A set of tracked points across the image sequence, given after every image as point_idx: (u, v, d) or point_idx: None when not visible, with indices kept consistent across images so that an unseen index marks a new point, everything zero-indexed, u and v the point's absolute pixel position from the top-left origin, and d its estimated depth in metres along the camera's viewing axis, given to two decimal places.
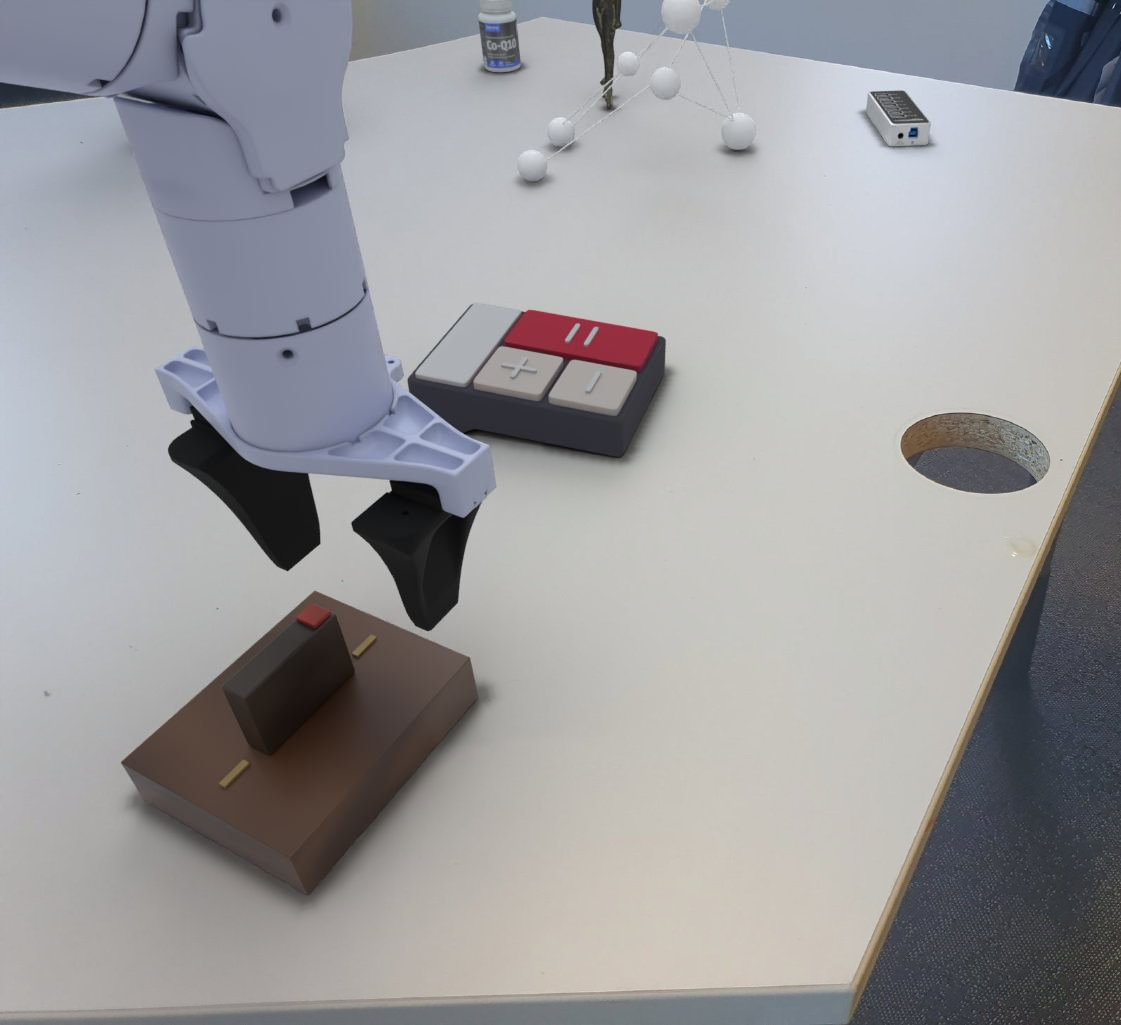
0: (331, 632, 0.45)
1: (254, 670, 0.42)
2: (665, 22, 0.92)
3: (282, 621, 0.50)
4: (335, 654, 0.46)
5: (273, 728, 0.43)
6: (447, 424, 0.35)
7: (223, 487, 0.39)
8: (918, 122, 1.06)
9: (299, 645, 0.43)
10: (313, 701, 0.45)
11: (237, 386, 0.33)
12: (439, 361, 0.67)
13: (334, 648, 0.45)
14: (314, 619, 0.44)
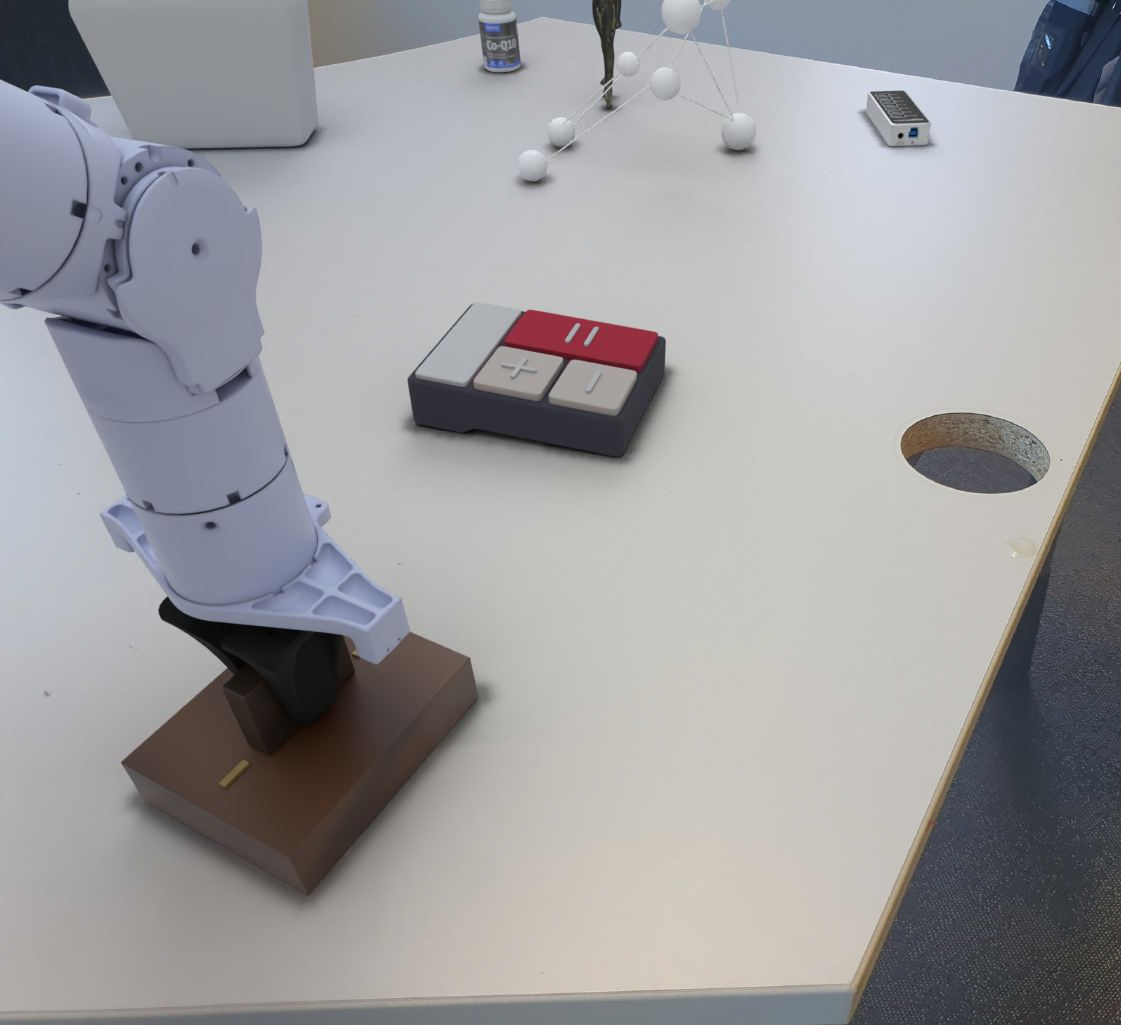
0: None
1: (254, 670, 0.42)
2: (665, 22, 0.92)
3: None
4: None
5: (273, 728, 0.43)
6: (364, 575, 0.39)
7: (211, 644, 0.41)
8: (918, 122, 1.06)
9: None
10: None
11: (166, 551, 0.36)
12: (439, 361, 0.67)
13: None
14: None
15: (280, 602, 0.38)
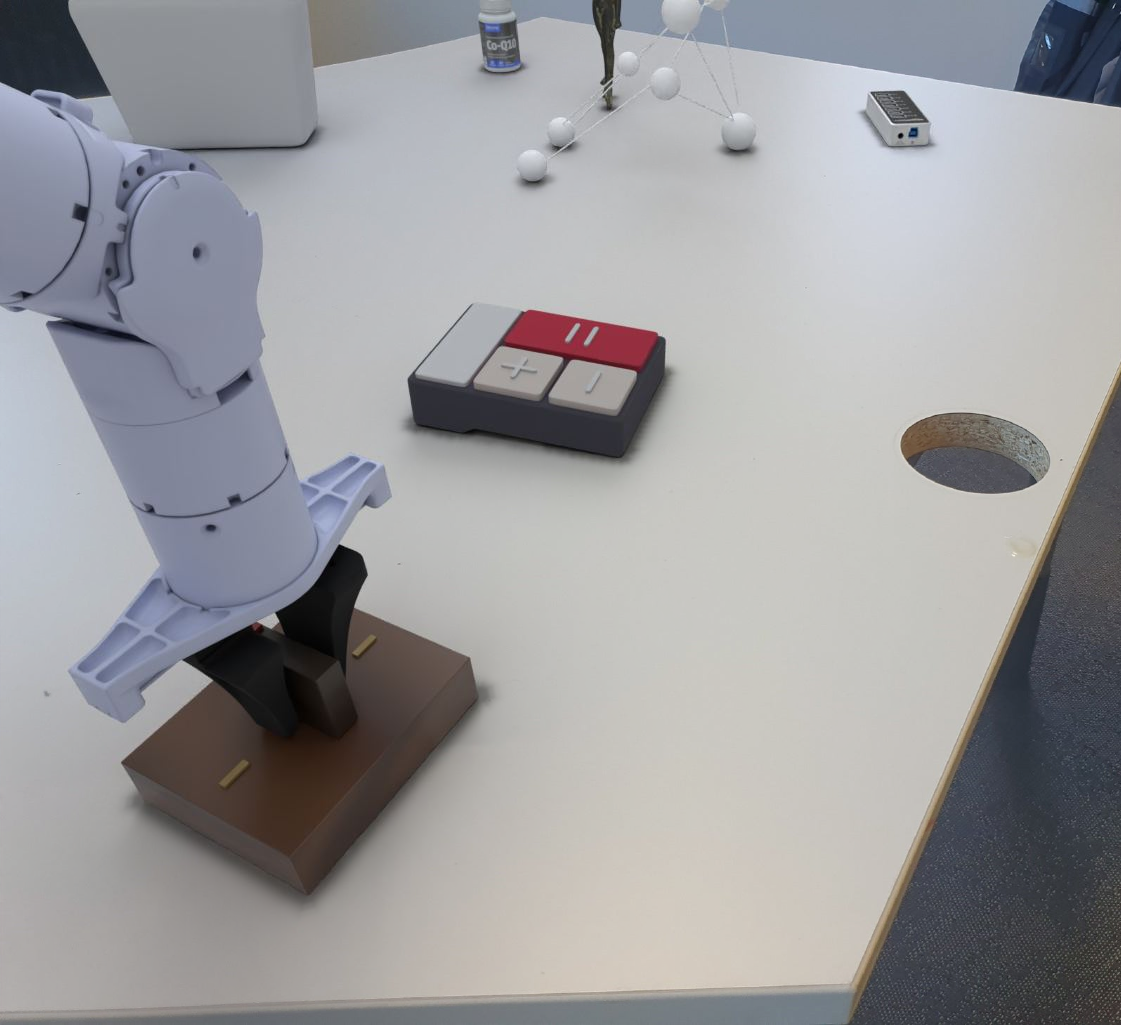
0: None
1: (304, 661, 0.43)
2: (665, 22, 0.92)
3: None
4: None
5: None
6: (312, 475, 0.44)
7: (281, 661, 0.40)
8: (918, 122, 1.06)
9: None
10: None
11: (282, 527, 0.37)
12: (439, 361, 0.67)
13: None
14: (253, 625, 0.44)
15: (320, 526, 0.41)
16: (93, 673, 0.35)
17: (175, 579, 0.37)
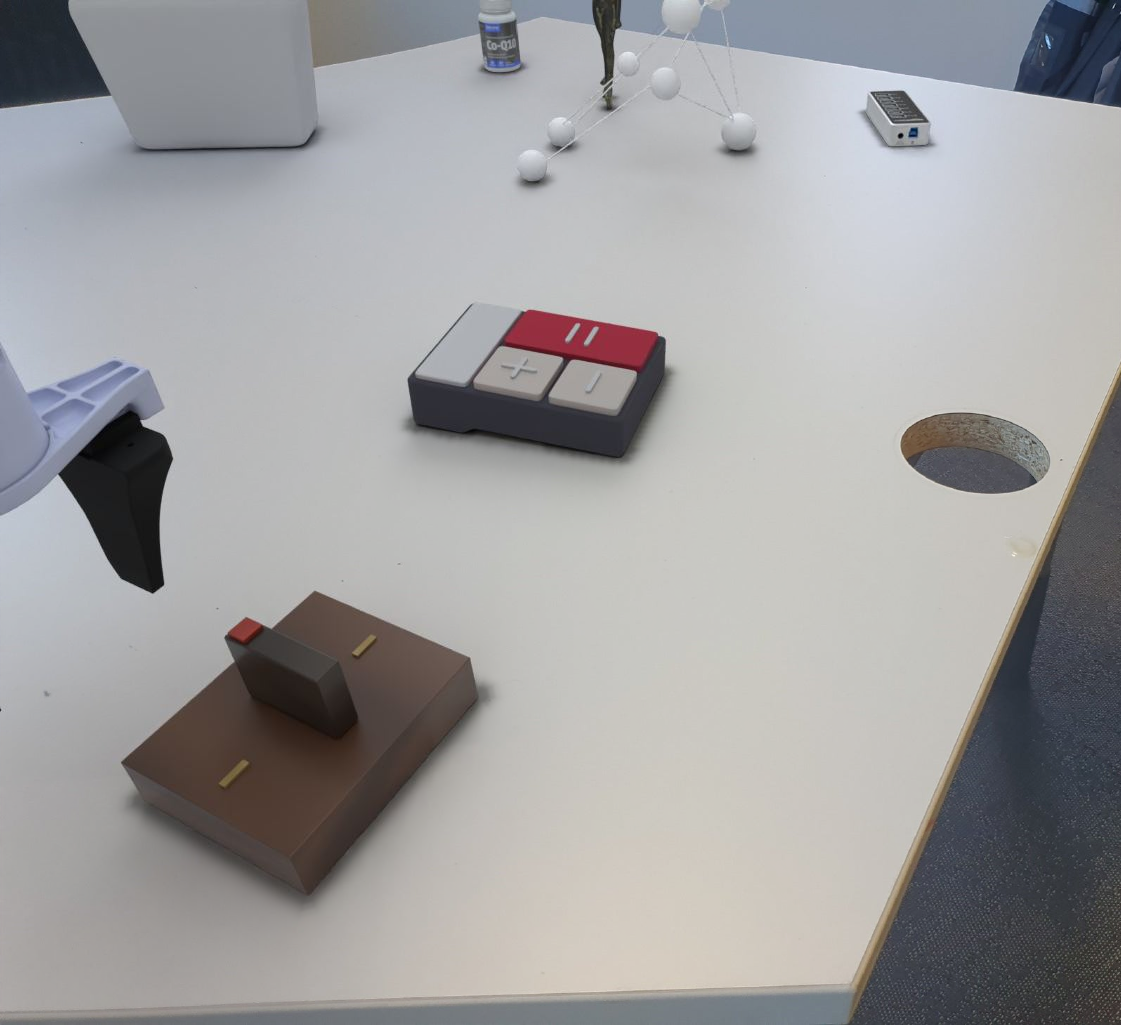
0: None
1: (304, 661, 0.43)
2: (665, 22, 0.92)
3: (282, 621, 0.50)
4: None
5: None
6: (64, 380, 0.38)
7: None
8: (918, 122, 1.06)
9: None
10: None
11: None
12: (439, 361, 0.67)
13: None
14: (253, 625, 0.44)
15: (59, 433, 0.36)
16: None
17: None
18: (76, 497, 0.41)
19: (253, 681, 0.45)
